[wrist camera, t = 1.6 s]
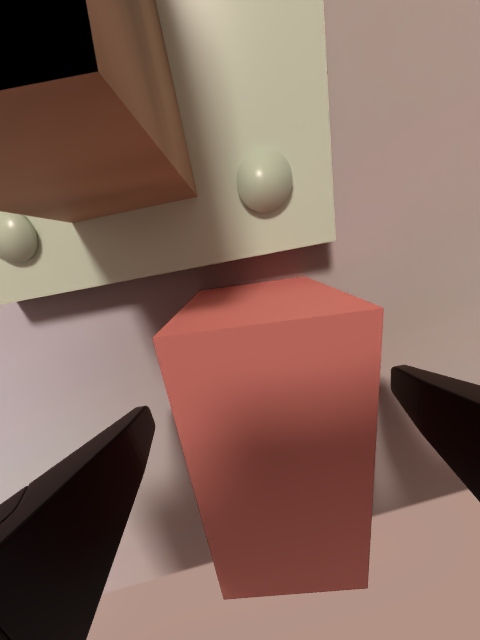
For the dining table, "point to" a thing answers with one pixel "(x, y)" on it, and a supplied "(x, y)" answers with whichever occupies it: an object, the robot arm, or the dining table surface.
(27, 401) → the dining table surface
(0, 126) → the brick walnut
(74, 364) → the dining table surface
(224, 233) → the plate
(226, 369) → the brick red
